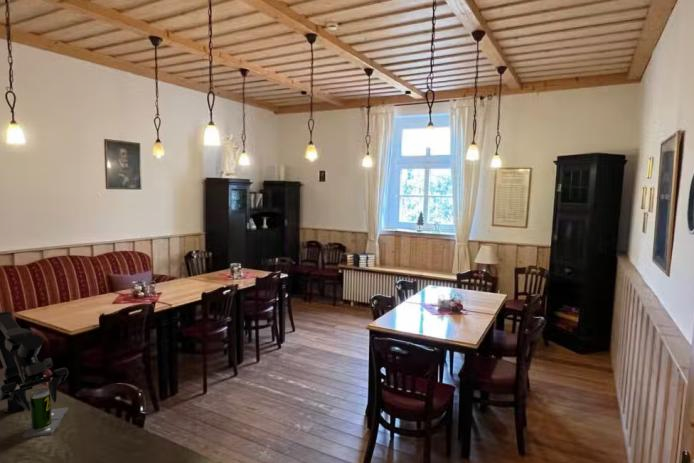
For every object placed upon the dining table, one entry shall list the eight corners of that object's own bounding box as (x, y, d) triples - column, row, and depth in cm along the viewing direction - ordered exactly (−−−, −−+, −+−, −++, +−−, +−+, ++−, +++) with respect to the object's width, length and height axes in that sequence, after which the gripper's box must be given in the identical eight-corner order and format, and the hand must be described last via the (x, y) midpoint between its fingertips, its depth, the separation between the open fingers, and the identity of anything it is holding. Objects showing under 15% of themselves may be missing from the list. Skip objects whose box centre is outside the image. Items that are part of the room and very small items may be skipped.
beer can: (30, 432, 136) (27, 396, 135) (33, 424, 141) (31, 390, 140) (50, 428, 139) (48, 393, 138) (53, 421, 143) (51, 386, 142)
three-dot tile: (33, 424, 143) (33, 422, 143) (60, 421, 145) (60, 419, 145) (22, 437, 135) (22, 435, 135) (51, 434, 137) (51, 431, 137)
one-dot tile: (42, 412, 151) (42, 410, 151) (68, 409, 153) (68, 407, 153) (32, 424, 143) (32, 421, 143) (59, 420, 145) (59, 418, 145)
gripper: (-2, 361, 132) (12, 405, 127) (65, 344, 147) (80, 383, 142) (-9, 379, 138) (5, 422, 132) (57, 361, 153) (71, 399, 147)
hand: (42, 406), depth 138 cm, fingers open, 7 cm apart
